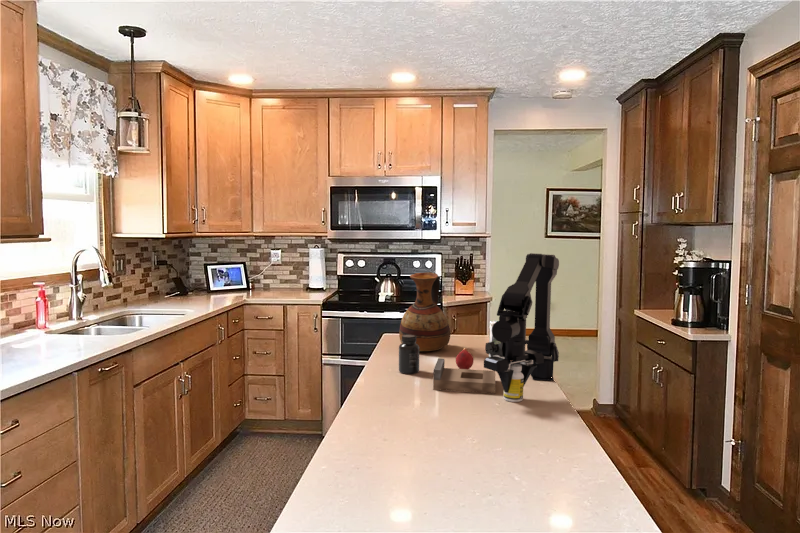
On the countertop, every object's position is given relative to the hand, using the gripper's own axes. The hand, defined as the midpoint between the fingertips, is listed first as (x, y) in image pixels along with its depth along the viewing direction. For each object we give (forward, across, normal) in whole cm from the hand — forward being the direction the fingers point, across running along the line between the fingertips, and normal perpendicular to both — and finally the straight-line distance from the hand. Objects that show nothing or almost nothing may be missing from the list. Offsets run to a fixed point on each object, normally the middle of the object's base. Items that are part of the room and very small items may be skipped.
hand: (513, 390), depth 157 cm
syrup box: (+3, -27, -32) cm, 42 cm away
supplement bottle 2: (+3, 0, 0) cm, 3 cm away
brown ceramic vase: (+3, -17, -62) cm, 65 cm away
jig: (+2, +2, -18) cm, 18 cm away
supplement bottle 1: (+3, +8, -39) cm, 40 cm away
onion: (+3, -8, -29) cm, 30 cm away
